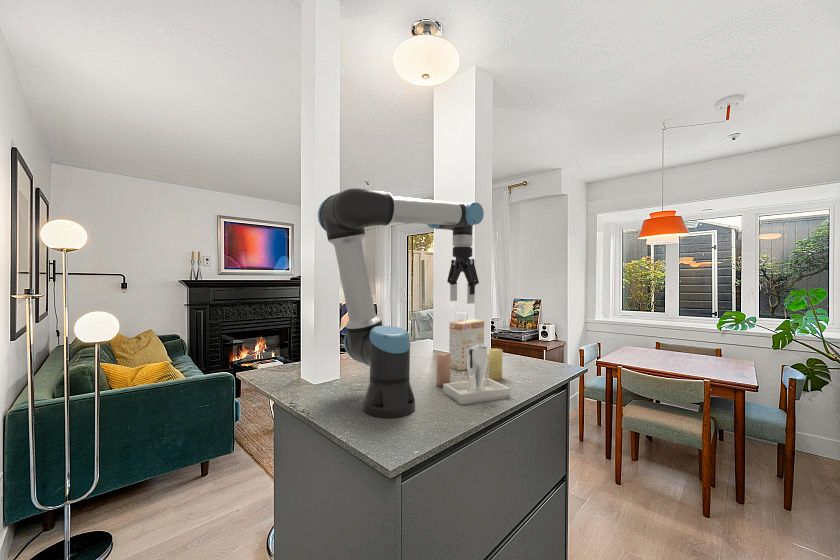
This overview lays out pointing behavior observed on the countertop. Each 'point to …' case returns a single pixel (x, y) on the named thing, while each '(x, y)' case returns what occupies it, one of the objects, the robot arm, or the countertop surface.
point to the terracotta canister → (443, 368)
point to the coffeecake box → (464, 340)
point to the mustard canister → (495, 363)
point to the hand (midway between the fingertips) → (461, 302)
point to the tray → (462, 397)
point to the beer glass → (476, 367)
